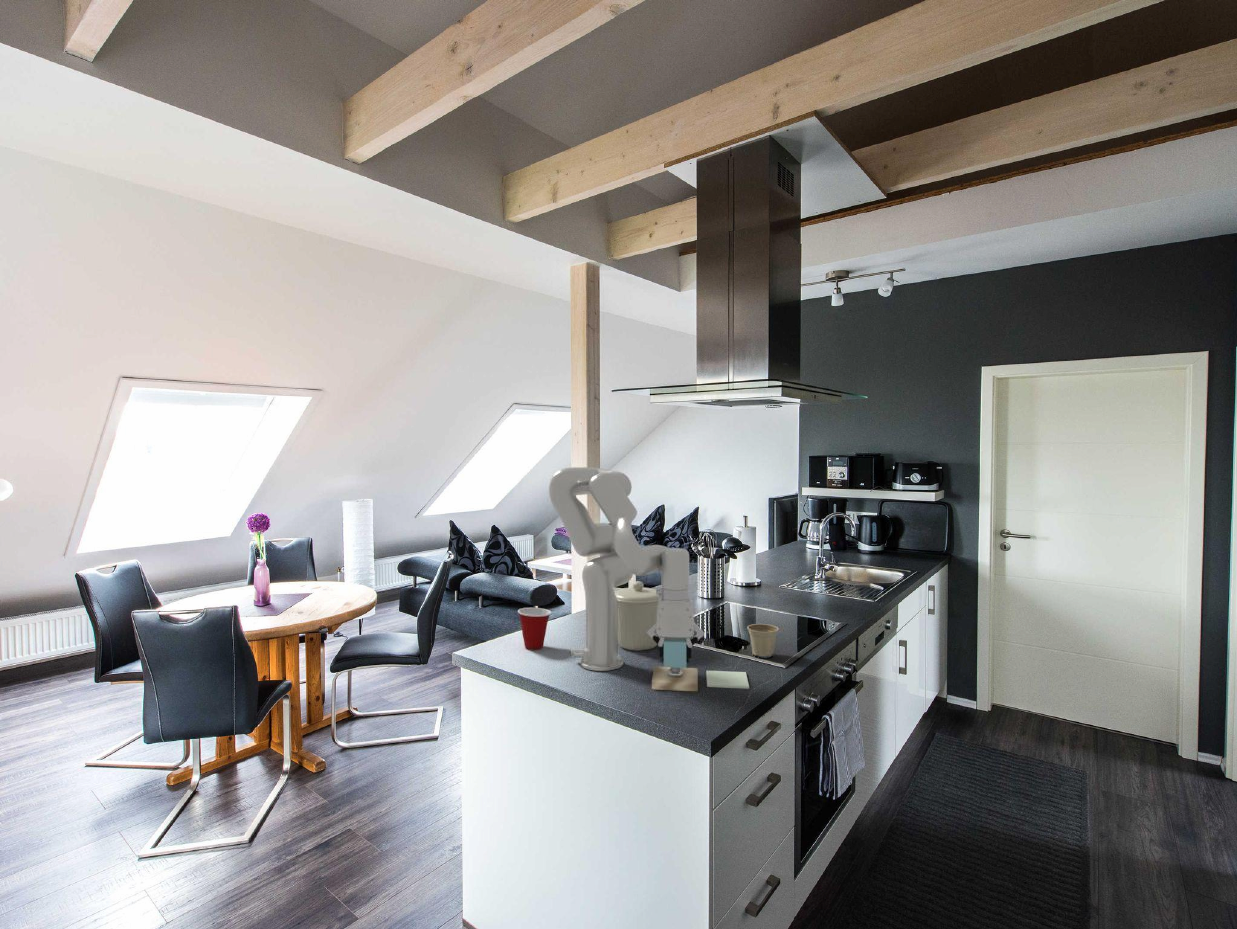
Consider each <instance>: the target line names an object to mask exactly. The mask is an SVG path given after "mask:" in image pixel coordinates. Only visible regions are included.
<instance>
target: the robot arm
mask: <svg viewBox="0 0 1237 929" xmlns="http://www.w3.org/2000/svg"><path fill="white" fill-rule="evenodd" d="M631 482H632V481H631V480H630V478H629V477H628V475H626V474H625V473H624V472H620V471H615V470H609V469H603V468H598V467H590V466H589V467H588V466H587V467H586V466H584V467H581V466H580V467H578V466H577V467H565V468H561V469H559V470H557V471H556V472H555V473H554V474H553V475H552V477H551V479H550V482H549V484H548V485H549V486H548V494H549V498H550V502H551V504H552V506H553V508H554V509H555V512H556V513H557V515H558V516H559V519H560V521H561V522H562V525H563V527H564V530H565V532H566V534H567V537H568V538H569V541H570V542H571V545H572V547H573V549H574V551H575V552H576V554H578V555H579V557H586V558H587V557H593V556H598V555H599V557H595V558H593V559H590V560H589V561H588V562H586V564H585V565H584V567H583V569H582V573H581V574H582V575H581V576H582V577H581V579H582V584H583V591H584V597H585V598H584V599H585V601H584V602H585V647H584V648H583V647H582V648H581V649H579V648H571V653H570V654H571V656H573V657H574V658H581V659H580V666H581V667H582V668H584V669H585V670H589V671H597V672H607V671H614V670H617V669H619V668H622V666H623V665H624V659H623V658H622V657H620V656H619V643H618V603H617V598H616V595H615V593H614V592H615V591H614V590H615V589H614V588H616V587H619V586H622V585H625V584H627V583H628V582H630V581H631V580H632V578H633V576H639V577H642V576H647V575H651V574H655V573H659V572H660V573H661V575H660V576H661V577H660V578H661V584H660V585H661V586H660V589H656V595H660V596H661V598H660V599H659V601H658V606H657V619H656V622H655V623H654V624H653V625H652V626H651V627H650V628H649V629H648V630H647V634H648V635H649V636H650V637H651V638H652V639H653V640H654V641H655V642H656V643H657V646H658V650H659V652H658V656H659V658H661V662H662V663H664V640H665V638H685V640H686V642H687V645H686V662H687V663H690V660H691V659H692V647H693V646H694V645H695V644H696V643H698V641H699V640H700V639H701V638H702V637H704V636H705V633H704V631H703V629H701V628H700V626H698V625H697V623H695V615H694V614H695V613H694V605H693V600H692V599H691V598H690V552H689V551H688V550H687V549H685V548H681V547H669V546H665V545H660V544H652V545H647V546H641V545H640V543H639V542H638V540H637V538H636V537H635V535H634V533H633V530H632V523H633V521H634V520H635V519H636V518H637V515H638V510H637V508H636V507H635V505H634V504H633V502H632V501H631V500H630V498H629V496H630V495H631V492H632V483H631ZM582 495H591V496H592V498H593V499H594V501H595V502H596V505H597V506H598V507H599V509H600V510H601V512H602V513H603V515H604V516H605V518H606V519H607V521H608V522H609V523H607V522H597V523H596V522H595V521H593V519H592V517H591V515H590V513H589V510H588V509H587V507H586V506H585V505H584V503H583V502H582V501H581V500H579V498H577V496H582ZM655 630H656V633H657V635H658V636H659V637H660V638H659V637H658V636H657V635H656V634H655V633H654V631H655ZM695 632H696V634H695ZM694 634H695V635H694ZM689 659H690V660H689ZM687 663H686V664H687Z"/></svg>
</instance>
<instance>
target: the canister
mask: <svg viewBox="0 0 1237 929" xmlns="http://www.w3.org/2000/svg"><path fill="white" fill-rule="evenodd" d="M656 590H657V589H655V588H650V587H644V583H643V582H642V581H638V580H637V581H634V582H633V583H632V587H624V588H620V589H617V590H615V591H614V593H615V595H616V598H617V603H618V646H620V647H621V648H623V649H625V650H629V651H636V652H637V651H638V652H639V651H649V650H652V649H654V648H655V647H657V646H658V644H657V643H656V642H655V641H654V640H653V639H652V638H651V637H650V636H649V635H648V634H647V630H648V629H649V628H650V627H651V626H652V625H653V624H654V623H655V622H656V619H657V606H658V601H659V599H660V598H661V596H660V595H656ZM654 633H655V634H656V635H657V633H656V630H655V631H654ZM657 636H658V635H657ZM658 637H659V636H658ZM659 638H660V637H659Z"/></svg>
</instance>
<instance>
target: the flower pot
mask: <svg viewBox="0 0 1237 929" xmlns="http://www.w3.org/2000/svg"><path fill="white" fill-rule="evenodd" d="M746 628H747V630H748V633H749V636H750V645H751V652H752V655H753V654H754V655H759V656H767V655H772V654H773V653H774V651H775V644H776V638H777V637H776V636H778V635H777V634H778V631H779V627H777V626H776V625H772V624H767V623H766V624H765V623H756V624H755V623H754V624H749V625H748V626H747V627H746ZM773 655H774V654H773Z"/></svg>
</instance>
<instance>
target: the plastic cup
mask: <svg viewBox="0 0 1237 929" xmlns="http://www.w3.org/2000/svg"><path fill="white" fill-rule="evenodd" d="M517 614H518V616H519V622H520V625H521V632H522V639H523V644H524V648H525V649H526V650H529V649H537V650H541V649H543V647H544V642H545V638H546V633H547V626H548V622H549V619H550V617H551V615H552V611H551V610H549V609H546V608H541V607H523V608H519V609H518V610H517Z"/></svg>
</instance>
